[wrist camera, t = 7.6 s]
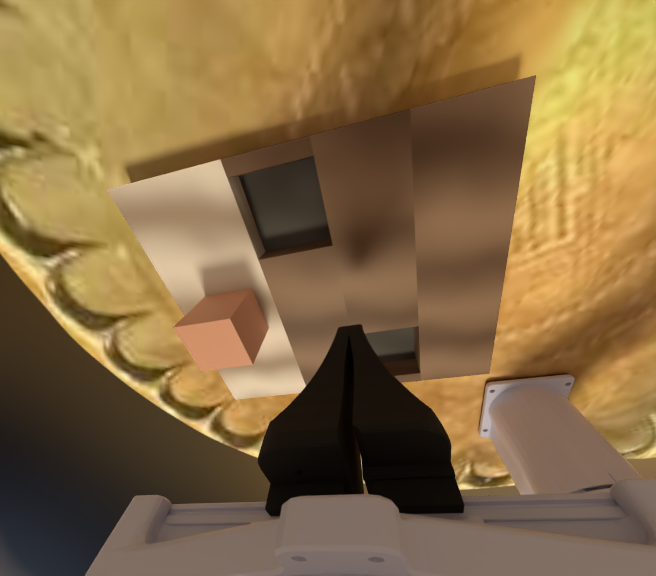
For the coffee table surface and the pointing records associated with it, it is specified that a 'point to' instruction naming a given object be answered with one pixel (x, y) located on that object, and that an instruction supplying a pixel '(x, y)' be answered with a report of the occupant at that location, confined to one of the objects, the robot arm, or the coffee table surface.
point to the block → (224, 330)
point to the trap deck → (352, 237)
